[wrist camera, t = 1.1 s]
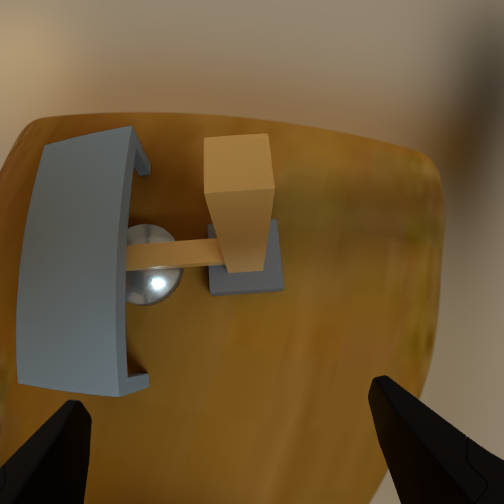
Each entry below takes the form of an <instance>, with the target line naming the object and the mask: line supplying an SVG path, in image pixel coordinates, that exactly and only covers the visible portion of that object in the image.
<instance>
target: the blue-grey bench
mask: <svg viewBox="0 0 504 504" xmlns="http://www.w3.org/2000/svg"><path fill="white" fill-rule="evenodd" d="M134 168H135V169H136V171H137V173H138V174H139V176H143V175H150V173H151V163H150V161H149V159H148V157H147V155H146V153H145V151H144V149H143V147H142V145H141V143H140V141H139V139H138V137H137V135H136V133H135V131H134V129H133V127H132V126H127V127H121V128H116V129H111V130H106V131H101V132H96V133H92V134H87V135H83V136H79V137H75V138H71V139H67V140H63V141H59V142H55V143H51V144H48V145H45V147H44V150H43V153H42V157H41V160H40V164H39V167H38V171H37V175H36V179H35V183H34V187H33V191H32V196H31V200H30V205H29V210H28V215H27V221H26V226H25V232H24V238H23V245H22V253H21V261H20V270H19V280H18V293H17V313H16V356H17V376H18V383H20V384H25V385H30V386H36V387H42V388H48V389H54V390H61V391H68V392H75V393H84V394H93V395H103V396H114V397H121V396H124V395H127V394H130V393H133V392H136V391H139V390H142V389H145V388H148V387H149V377H148V374H145V373H134V374H129V375H128V373H127V355H126V327H125V279H126V250H127V233H128V218H129V206H130V196H131V186H132V177H133V169H134Z"/></svg>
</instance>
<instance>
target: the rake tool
mask: <svg viewBox="0 0 504 504" xmlns="http://www.w3.org/2000/svg"><path fill="white" fill-rule="evenodd" d="M274 191H275V185H274V177H273V169H272V161H271V153H270V145H269V137H268V134H248V135H232V136H219V137H208V138H204V195H205V199H206V202H207V205H208V209H209V212H210V216H211V219H212V222H213V224H207V226H208V239H198V240H185V241H172V242H159V243H147V244H135V245H127V250H126V271H133V270H149V269H165V268H181V267H196V266H209V284H210V294H211V295H212V296H219V295H234V294H249V293H263V292H276V291H282V290H283V289H284V284H283V274H282V264H281V254H280V244H279V235H278V226H277V219H275V220H271V213H272V206H273V199H274Z"/></svg>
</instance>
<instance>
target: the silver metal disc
mask: <svg viewBox="0 0 504 504" xmlns="http://www.w3.org/2000/svg"><path fill="white" fill-rule="evenodd" d="M172 241H175V239H174V238H173V236H172V235H171V234H170V233H169V232H168V231H166V230H165V229H163V228H161V227H159V226H156V225H152V224H140V225H136V226H133V227H130V228H128V233H127V245H135V244H147V243H159V242H172ZM183 269H184V267H181V268H165V269H149V270H133V271H126V279H125V301H127V302H130V303H132V304H135V305H140V306H149V305H154V304H157V303H160V302H162V301H163V300H165V299H166V298H168V297H169V296H170V295H171V294H172V293H173V292H174V291H175V289H176V288H177V287H178V285H179V283H180V281H181V278H182V275H183Z"/></svg>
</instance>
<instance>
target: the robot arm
mask: <svg viewBox="0 0 504 504" xmlns="http://www.w3.org/2000/svg"><path fill="white" fill-rule="evenodd" d="M368 401H369V405H370V409H371V412H372V416H373V420H374V424H375V429H376V433H377V437H378V441H379V444H380V447H381V449H382V452H383V455H384V457H385V460H386V463H387V465H388V468H389V471H390V474H391V476H392V479H393V482H394V485H395V488H396V490H397V493H398V496H399V499H400V502H401V504H504V460H502V459H501V458H499V457H497V456H495V455H494V454H492V453H490V452H489V451H487V450H486V449H484V448H483V447H481V446H480V445H478V444H477V443H476V442H474V441H473V440H472V439H470V438H469V437H467V436H466V435H465V434H463V433H462V432H460V431H459V430H458V429H457V428H455V427H454V426H453V425H451V424H450V423H449V422H447V421H446V420H445V419H443V418H442V417H440V416H439V415H438V414H437V413H435V412H434V411H433V410H431V409H430V408H429V407H427V406H426V405H425V404H423V403H422V402H421V401H419V400H418V399H417V398H416V397H414V396H413V395H412V394H410V393H409V392H408V391H406V390H405V389H404V388H402V387H401V386H400V385H398V384H397V383H396V382H395V381H393V380H392V379H391V378H389V377H388V376H386V375H383V376H379V377H375V378H374V379H373V380H372V383H371V386H370V390H369V394H368ZM91 424H92V419H91V416H90V414H89V412H88V411H87V410H86V408H85V407H84V405H83V404H82V402H81V401H79V400H68V401H66V402H65V403H64V404H63V405H62V406H61V407H60V408H59V409H58V410H57V411H56V412H55V413H54V414H53V415H52V416H51V417H50V418H49V419H48V420H47V421H46V422H45V423H44V424H43V425H42V426H41V427H40V428H39V429H38V430H37V431H36V432H35V433H34V434H33V435H32V436H31V437H30V438H29V439H28V440H27V441H26V442H25V443H24V444H23V445H22V446H21V447H20V448H19V449H18V450H17V451H16V452H15V453H14V454H13V455H12V456H11V457H10V458H9V459H8V460H7V462H6V463H5V464H3V466H2V467H1V468H0V504H84V496H85V488H86V480H87V473H88V466H89V457H90V439H91Z"/></svg>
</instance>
